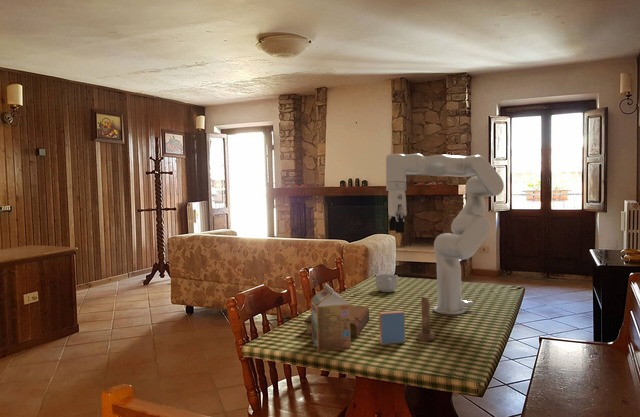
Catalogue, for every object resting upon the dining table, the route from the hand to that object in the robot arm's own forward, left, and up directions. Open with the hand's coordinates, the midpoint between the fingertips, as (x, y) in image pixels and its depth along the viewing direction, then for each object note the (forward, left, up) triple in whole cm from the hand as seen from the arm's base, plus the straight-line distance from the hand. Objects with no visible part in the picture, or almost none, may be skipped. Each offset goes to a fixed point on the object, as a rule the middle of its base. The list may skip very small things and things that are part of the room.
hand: (396, 231), depth 178 cm
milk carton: (+30, +22, -34) cm, 51 cm away
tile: (+10, +25, -34) cm, 43 cm away
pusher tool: (-2, +24, -34) cm, 42 cm away
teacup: (-10, -48, -34) cm, 60 cm away
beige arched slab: (+24, +4, -35) cm, 42 cm away
